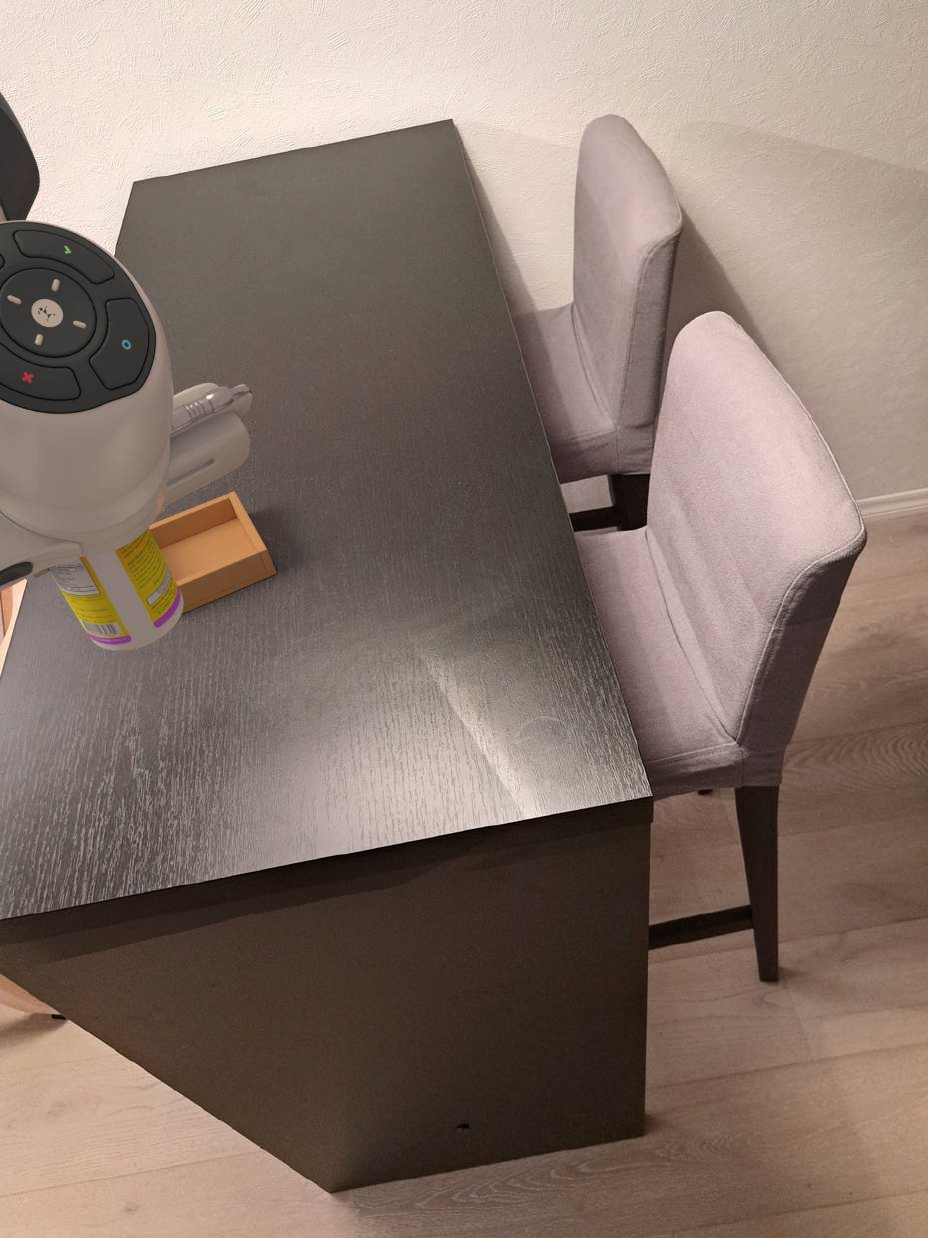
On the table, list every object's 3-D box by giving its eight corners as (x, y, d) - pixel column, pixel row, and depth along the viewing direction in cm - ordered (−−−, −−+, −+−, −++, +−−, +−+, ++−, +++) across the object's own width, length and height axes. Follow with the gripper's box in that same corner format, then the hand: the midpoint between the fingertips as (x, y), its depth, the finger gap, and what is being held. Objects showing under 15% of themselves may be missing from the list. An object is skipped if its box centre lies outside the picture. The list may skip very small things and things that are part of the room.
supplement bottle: (175, 576, 68) (101, 421, 59) (196, 629, 63) (119, 470, 54) (84, 613, 66) (-6, 460, 58) (98, 670, 62) (2, 513, 53)
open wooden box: (161, 622, 84) (148, 598, 82) (137, 558, 92) (125, 534, 90) (276, 573, 87) (267, 548, 85) (244, 514, 95) (234, 490, 93)
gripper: (223, 327, 51) (206, 422, 64) (-164, 504, 43) (-95, 571, 56) (286, 426, 51) (257, 501, 64) (-89, 619, 44) (-36, 660, 57)
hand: (90, 535), depth 60 cm, fingers closed on supplement bottle, 6 cm apart
